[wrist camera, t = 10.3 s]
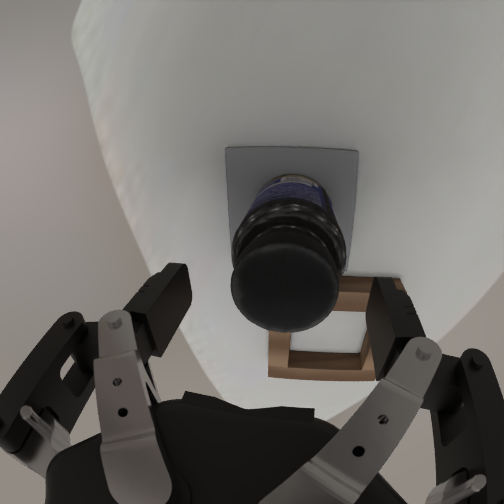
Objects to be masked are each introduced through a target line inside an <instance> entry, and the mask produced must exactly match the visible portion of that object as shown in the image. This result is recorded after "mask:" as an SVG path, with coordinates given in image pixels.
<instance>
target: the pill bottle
mask: <svg viewBox="0 0 504 504" xmlns="http://www.w3.org/2000/svg"><path fill="white" fill-rule="evenodd" d="M231 251H232V254H231V255H232V262H233V268H234V271H233V273H232V277H231V293H232V297H233V300H234V302H235V305H236V306H237V308H238V309H239V310H240V312H241V313H242V314H243V315H244V316H245V317H246V318H247V319H248V320H249V321H250V322H252V323H254V324H256V325H258V326H260V327H262V328H264V329H267V330H270V331H275V332H281V333H287V332H299V331H303V330H307V329H309V328H312V327H314V326H316V325H317V324H319V323H320V322H322V321H323V320H324V319H325V318H326V317H327V316H328V315H329V314H330V313H331V311H332V310H333V308H334V306H335V304H336V302H337V299H338V294H339V280H340V278H341V276H342V274H343V272H344V269H345V265H346V258H347V256H346V244H345V240H344V237H343V234H342V231H341V228H340V225H339V222H338V219H337V216H336V213H335V210H334V207H333V204H332V201H331V199H330V197H329V195H328V194H327V192H326V191H325V189H324V188H323V187H322V186H321V185H320V184H319V183H318V182H316V181H315V180H313V179H311V178H309V177H306V176H303V175H295V174H287V175H282V176H279V177H276V178H274V179H272V180H271V181H270V182H268V183H267V184H266V185H265V186H264V187H263V188H262V189H261V190H260V192H259V193H258V195H257V197H256V199H255V200H254V202H253V203H252V205H251V207H250V209H249V210H248V212H247V214H246V215H245V217H244V219H243V221H242V222H241V224H240V226H239V228H238V229H237V231H236V233H235V235H234V239H233V242H232V250H231Z"/></svg>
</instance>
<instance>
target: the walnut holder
mask: <svg viewBox="0 0 504 504" xmlns="http://www.w3.org/2000/svg"><path fill="white" fill-rule="evenodd" d="M373 279H374V278H371V277H350V276H341V278H340V280H339V294H338V299H337V302H336V304H335V306H334V308H333V310H332V311H356V312H366V307H367V303H368V299H369V295H370V291H371V287H372V283H373ZM393 280H394V283H395V285H396V288H397V290H403V291H404V292H405V293H406V294H407V292H406V290H405V288H404V286H403V284H402V282H401V280H400V279H396V278H393ZM290 338H291V332H287V333H281V332H275V331H270V330H269V360H268V377H274V378H286V379H300V380H319V381H374V380H375V378H376V377H375V370H374V363H373V357H372V351H371V345H370V339H369V334H368V329H367V332H366V335H365V338H364V342H363V345H362V348H361V351H360V353H322V352H303V351H289V350H290Z"/></svg>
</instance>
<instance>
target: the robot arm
mask: <svg viewBox="0 0 504 504" xmlns="http://www.w3.org/2000/svg"><path fill="white" fill-rule="evenodd" d="M191 302H192V290H191V284H190V278H189V273H188V268H187V265H186V264H182V263H168V264H167V265H166V266H165V268H164V269H163V270H162V271H161V272H158V273H156V274H155V275H153V276H152V277H150V278H149V279H148V280H147V281H146V282H145V283H144V285H143V286H142V287H141V288H140V289H139V292H137V293H136V294H135V295H134V296H133V298H132V299H131V300H130V301H129V303H128V304H127V305H126V306H125V307H124V309H123V310H114V311H111V312H108V313H106V314H105V315H104V316H103V317H101V319H100V320H99V322H85V320H84V318H83V316H82V314H81V313H79V312H68V313H66V314H64V315H62V316H61V317H60V318H59V319H58V320H57V321H56V322H55V323H54V324H53V326H52V327H51V328H50V329H49V330H48V332H47V333H46V334H45V335H44V336H43V338H42V339H41V340H40V341H39V343H38V344H37V345H36V346H35V348H34V349H33V350H32V351H31V353H30V354H29V355H28V357H27V358H26V359H25V361H24V362H23V363H22V365H21V366H20V367H19V369H18V370H17V371H16V373H15V374H14V375H13V377H12V378H11V380H10V381H9V382H8V384H7V385H6V387H5V388H4V390H3V391H2V393H1V394H0V447H1V448H2V449H3V450H4V451H5V452H6V453H7V454H9V455H10V456H11V457H13V458H14V459H16V460H17V461H19V462H20V463H21V464H23V465H24V466H27V467H28V468H30V469H32V470H33V471H35V472H36V473H38V474H39V475H41V476H42V477H43V478H45V479H46V499H45V504H407V503H406V502H405V501H404V499H403V498H402V497H401V496H400V495H399V494H398V493H397V492H396V491H395V490H394V489H393V488H392V487H391V485H390V484H389V483H388V482H387V481H386V480H385V479H384V478H383V477H382V476H381V475H380V473H379V470H380V469H381V468H382V466H383V465H384V464H385V462H386V461H387V459H388V458H389V457H390V455H391V454H392V452H393V451H394V449H395V448H396V446H397V445H398V443H399V442H400V440H401V439H402V437H403V436H404V434H405V433H406V431H407V429H408V428H409V426H410V424H411V423H412V421H413V419H414V417H415V416H416V414H417V412H418V410H419V409H420V408H423V409H428V410H430V413H431V420H432V428H433V437H434V448H435V461H436V487H435V488H434V489H433V490H432V491H431V492H430V493H429V495H428V497H427V499H426V503H425V504H504V399H503V396H502V393H501V390H500V387H499V384H498V381H497V378H496V375H495V372H494V370H493V367H492V365H491V362H490V360H489V358H488V357H487V356H486V354H484V353H483V352H482V351H480V350H478V349H474V348H473V349H472V348H471V349H467V350H465V351H464V352H463V354H462V356H461V357H460V358H458V357H454V356H449V355H445V354H442V351H441V349H440V347H439V346H438V344H437V343H436V342H434V341H433V340H431V339H429V338H426V335H425V333H424V330H423V327H422V325H421V322H420V320H419V317H418V315H417V314H416V310H415V308H414V305H413V303H412V301H411V298H410V297H409V296H408V295H407V294H406V293H405V292H404V291H403V290H397V288H396V285H395V283H394V280H393V278H391V277H374V279H373V283H372V287H371V291H370V295H369V299H368V303H367V307H366V324H367V329H368V334H369V339H370V345H371V351H372V357H373V363H374V370H375V377H376V381H380V382H379V383H378V384H377V386H376V387H375V388H374V390H373V391H372V392H371V393H370V395H369V396H368V397H367V399H366V400H365V401H364V403H363V404H362V405H361V406H360V407H359V409H358V410H357V411H356V412H355V413H354V415H353V416H352V417H351V418H350V419H349V420H348V422H347V423H346V424H345V425H344V426H343V427H342V429H338V428H337V427H335V426H334V425H332V424H330V423H328V422H326V421H324V420H321V419H318V418H315V417H314V411H315V409H314V408H297V407H284V406H280V407H271V408H260V409H243V408H240V407H238V406H235V405H233V404H230V403H228V402H226V401H223V400H221V399H218V398H216V397H212V396H207V395H202V394H197V393H193V392H188V391H185V393H184V395H183V398H182V399H175V400H167V401H163V402H162V401H161V399H160V396H159V393H158V390H157V387H156V384H155V380H154V377H153V373H152V370H151V366H150V363H149V361H148V359H149V358H150V356H151V355H152V356H157V357H162V355H163V353H164V352H165V350H166V348H167V346H168V344H169V342H170V341H171V339H172V337H173V335H174V334H175V332H176V330H177V328H178V327H179V325H180V323H181V321H182V320H183V318H184V316H185V314H186V313H187V311H188V309H189V307H190V305H191ZM70 355H71V357H72V358H73V360H74V361H75V362H74V364H73V365H72V367H71V368H70V370H69V371H68V373H67V374H66V376H65V377H64V379H63V380H62V379H61V377H60V370H61V368H62V366H63V365H64V363H65V362H66V360H67V359H68V357H69V356H70ZM94 388H95V389H96V399H97V408H98V415H99V422H100V428H101V433H99V434H96V435H95V436H93V437H90V438H88V439H86V440H84V441H82V442H79V443H77V444H75V445H73V446H71V444H70V435H69V434H70V433H71V431H72V429H73V427H74V425H75V423H76V421H77V419H78V417H79V415H80V414H81V412H82V410H83V408H84V406H85V404H86V402H87V401H88V399H89V397H90V396H91V394H92V392H93V390H94Z"/></svg>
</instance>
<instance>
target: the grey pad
mask: <svg viewBox="0 0 504 504" xmlns="http://www.w3.org/2000/svg"><path fill="white" fill-rule="evenodd" d="M358 156H359V152H358V151H354V150H343V149H329V148H310V147H227V148H225V158H226V177H227V195H228V211H229V227H230V242H231V250H232V242H233V239H234V235H235V233H236V231H237V229H238V228H239V226H240V224H241V222H242V221H243V219H244V217H245V215H246V214H247V212H248V210H249V209H250V207H251V205H252V203H253V202H254V200H255V199H256V197H257V195H258V193H259V192H260V190H261V189H262V188H263V187H264V186H265V185H266V184H267V183H268V182H270V181H271V180H272V179H274V178H276V177H279V176H282V175H287V174H295V175H303V176H306V177H309V178H311V179H313V180H315V181H316V182H318V183H319V184H320V185H321V186H322V187H323V188H324V189H325V191H326V192H327V194H328V195H329V197H330V199H331V201H332V204H333V207H334V210H335V213H336V216H337V219H338V222H339V225H340V228H341V231H342V234H343V237H344V240H345V244H346V256H347V258H346V265H345V269H344V271H347V267H348V261H349V254H350V246H351V238H352V230H353V221H354V212H355V201H356V189H357V175H358ZM231 254H232V251H231ZM231 257H232V255H231ZM232 264H233V262H232Z"/></svg>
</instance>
